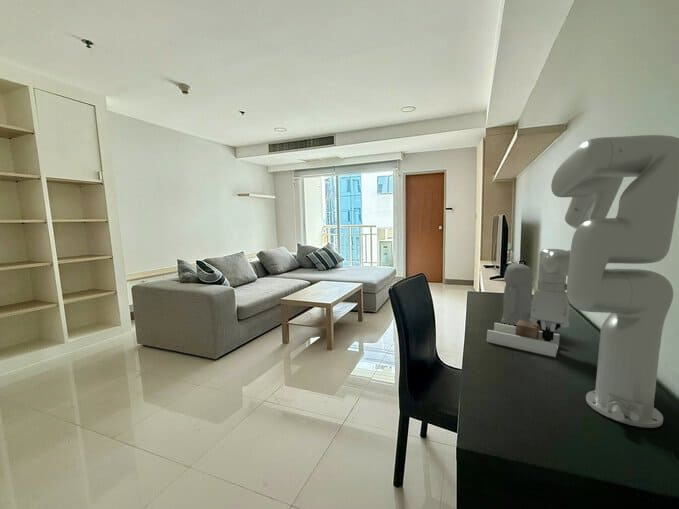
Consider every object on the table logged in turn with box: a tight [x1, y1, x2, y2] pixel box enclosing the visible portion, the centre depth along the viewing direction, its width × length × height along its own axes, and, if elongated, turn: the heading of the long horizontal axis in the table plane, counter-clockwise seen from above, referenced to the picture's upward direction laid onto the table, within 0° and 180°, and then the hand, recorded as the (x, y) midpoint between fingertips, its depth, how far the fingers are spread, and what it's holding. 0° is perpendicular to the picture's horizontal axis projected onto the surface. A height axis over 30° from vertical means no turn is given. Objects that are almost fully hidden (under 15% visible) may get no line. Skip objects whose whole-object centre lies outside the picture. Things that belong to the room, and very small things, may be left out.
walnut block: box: [515, 320, 540, 340], centre depth 106 cm, size 6×7×6 cm
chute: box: [486, 322, 560, 358], centre depth 107 cm, size 20×12×4 cm, turn 51°
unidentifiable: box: [500, 263, 534, 326], centre depth 129 cm, size 15×10×25 cm
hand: (547, 341), depth 102 cm, fingers closed
